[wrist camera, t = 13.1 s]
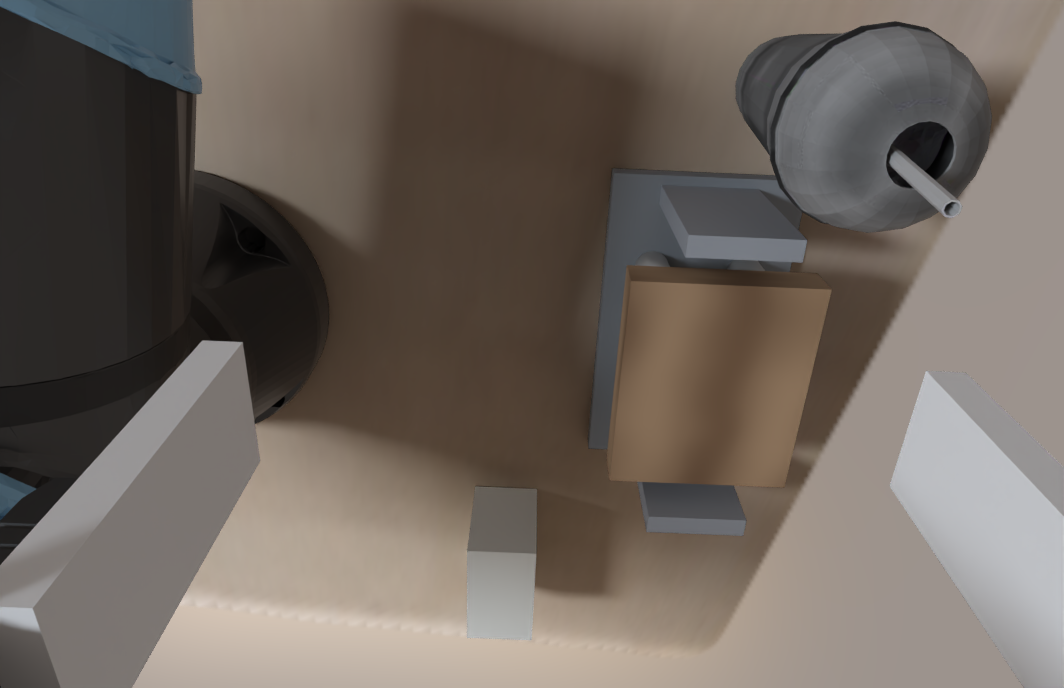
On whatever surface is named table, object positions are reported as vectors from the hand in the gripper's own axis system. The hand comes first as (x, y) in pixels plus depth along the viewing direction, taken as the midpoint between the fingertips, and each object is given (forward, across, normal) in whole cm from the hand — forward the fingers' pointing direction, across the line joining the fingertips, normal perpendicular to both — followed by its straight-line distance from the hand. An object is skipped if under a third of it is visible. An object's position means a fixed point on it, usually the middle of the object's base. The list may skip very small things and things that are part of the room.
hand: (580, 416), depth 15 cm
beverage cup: (+27, +11, +3) cm, 29 cm away
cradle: (+27, +8, -10) cm, 30 cm away
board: (+21, +8, -10) cm, 24 cm away
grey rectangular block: (+27, -2, -26) cm, 37 cm away
